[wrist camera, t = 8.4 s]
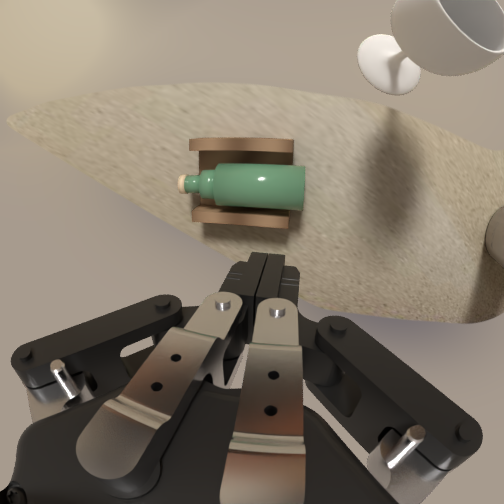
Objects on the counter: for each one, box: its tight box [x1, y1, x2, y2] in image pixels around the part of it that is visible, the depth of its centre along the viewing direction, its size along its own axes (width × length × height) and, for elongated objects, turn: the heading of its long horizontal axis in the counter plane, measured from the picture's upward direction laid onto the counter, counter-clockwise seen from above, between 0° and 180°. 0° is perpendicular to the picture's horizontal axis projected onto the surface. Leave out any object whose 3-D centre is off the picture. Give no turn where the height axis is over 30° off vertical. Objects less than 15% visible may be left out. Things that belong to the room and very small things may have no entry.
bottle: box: [178, 163, 305, 211], centre depth 32 cm, size 5×5×15 cm
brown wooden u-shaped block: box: [189, 138, 294, 229], centre depth 33 cm, size 12×10×4 cm
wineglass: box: [357, 0, 504, 95], centre depth 16 cm, size 9×9×21 cm
